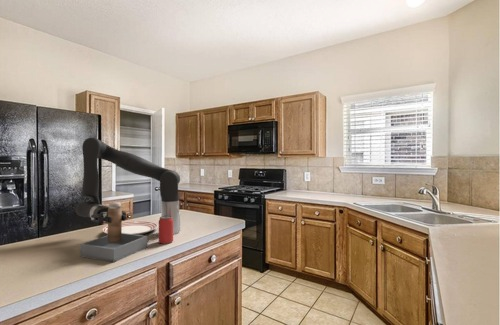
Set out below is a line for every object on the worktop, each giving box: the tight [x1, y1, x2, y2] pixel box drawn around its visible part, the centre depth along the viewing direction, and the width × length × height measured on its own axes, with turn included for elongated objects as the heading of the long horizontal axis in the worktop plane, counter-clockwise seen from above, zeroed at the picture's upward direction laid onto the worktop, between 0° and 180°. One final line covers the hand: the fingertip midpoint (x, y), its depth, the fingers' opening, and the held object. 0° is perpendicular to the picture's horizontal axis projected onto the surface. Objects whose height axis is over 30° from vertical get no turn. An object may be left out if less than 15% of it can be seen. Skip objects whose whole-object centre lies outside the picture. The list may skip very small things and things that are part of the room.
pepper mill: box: [107, 202, 123, 243], centre depth 111 cm, size 5×5×16 cm
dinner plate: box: [101, 220, 159, 236], centre depth 141 cm, size 28×27×3 cm
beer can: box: [158, 216, 174, 245], centre depth 124 cm, size 7×7×12 cm
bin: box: [79, 233, 149, 263], centre depth 111 cm, size 18×18×5 cm
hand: (117, 219), depth 109 cm, fingers closed on pepper mill, 5 cm apart
